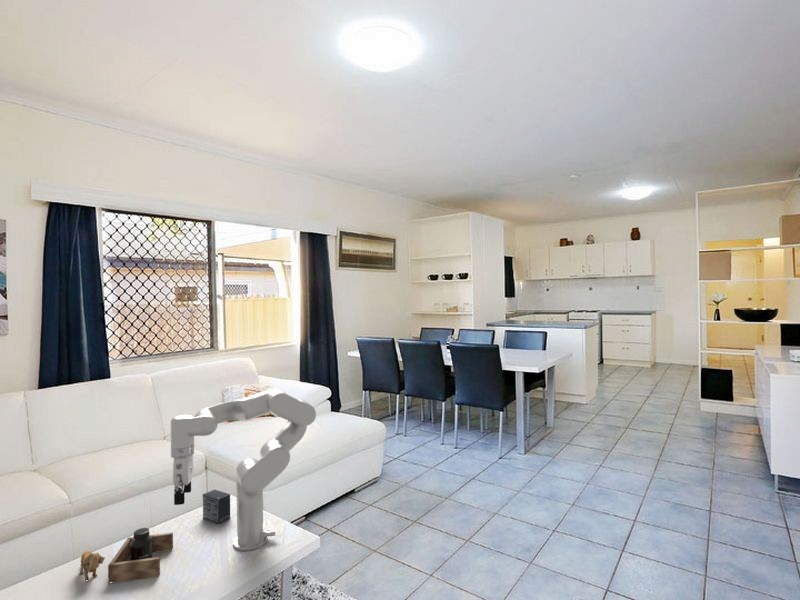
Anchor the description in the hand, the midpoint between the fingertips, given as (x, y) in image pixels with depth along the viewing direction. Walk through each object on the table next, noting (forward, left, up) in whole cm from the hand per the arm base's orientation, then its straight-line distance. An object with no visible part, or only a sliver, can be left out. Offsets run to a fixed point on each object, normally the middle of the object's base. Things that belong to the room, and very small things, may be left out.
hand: (182, 498), depth 159 cm
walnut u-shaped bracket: (+13, 0, -22) cm, 26 cm away
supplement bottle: (+14, 0, -22) cm, 26 cm away
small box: (-6, -29, -22) cm, 37 cm away
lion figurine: (+29, +2, -22) cm, 37 cm away
